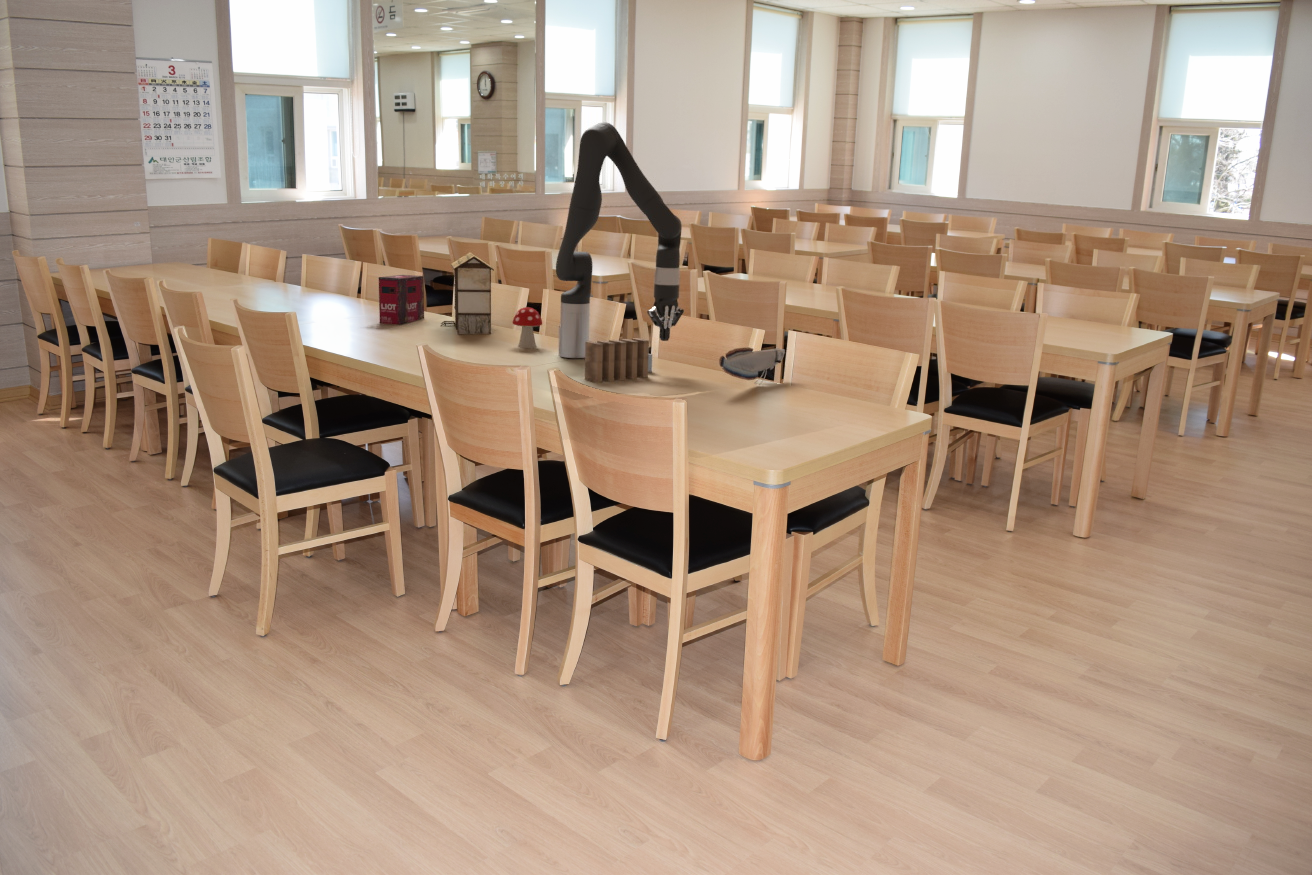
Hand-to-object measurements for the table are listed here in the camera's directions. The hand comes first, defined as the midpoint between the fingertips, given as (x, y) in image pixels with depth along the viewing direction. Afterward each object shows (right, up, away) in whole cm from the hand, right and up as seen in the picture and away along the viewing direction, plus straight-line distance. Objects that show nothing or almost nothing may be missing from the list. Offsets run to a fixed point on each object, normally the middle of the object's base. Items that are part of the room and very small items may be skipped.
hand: (664, 340), depth 303 cm
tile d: (-17, -12, -12) cm, 24 cm away
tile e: (-21, -13, -14) cm, 28 cm away
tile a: (-8, -11, -4) cm, 14 cm away
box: (-99, +11, +77) cm, 126 cm away
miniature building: (-72, +7, +65) cm, 97 cm away
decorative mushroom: (-46, -1, +34) cm, 57 cm away
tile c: (-14, -12, -9) cm, 21 cm away
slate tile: (-4, -7, 0) cm, 9 cm away
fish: (+25, -15, -15) cm, 32 cm away
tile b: (-11, -11, -7) cm, 17 cm away
